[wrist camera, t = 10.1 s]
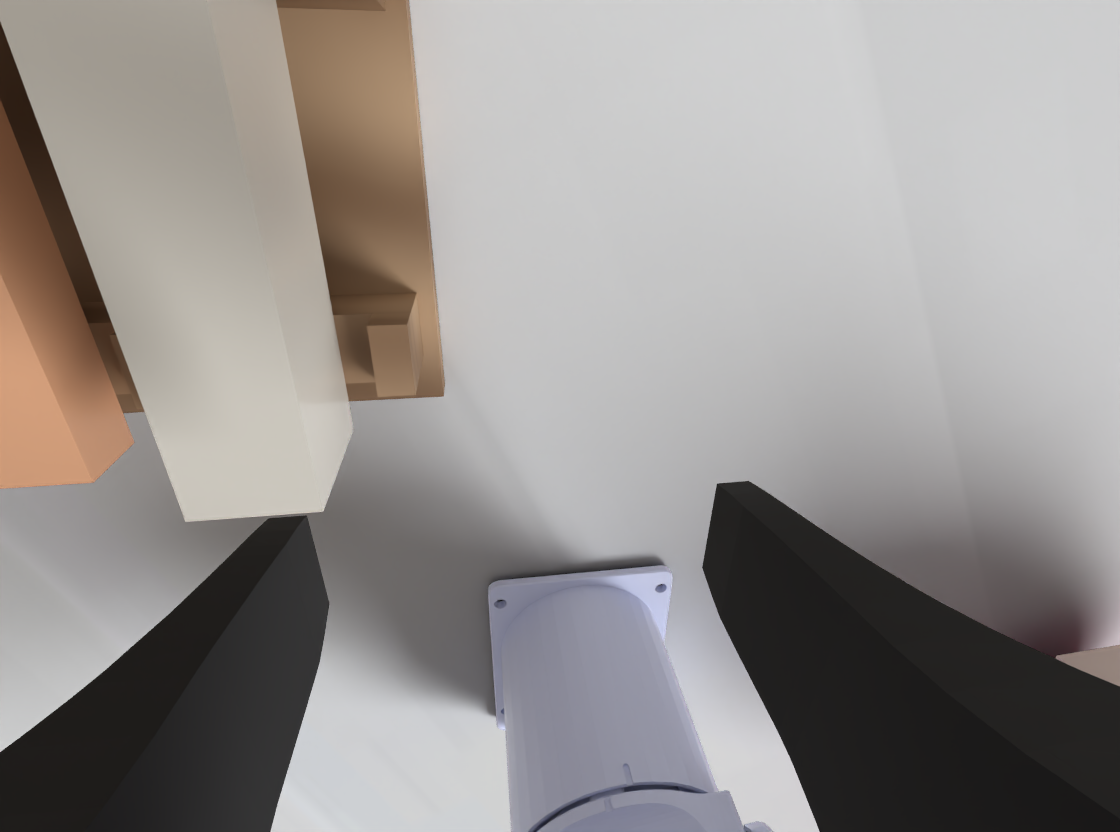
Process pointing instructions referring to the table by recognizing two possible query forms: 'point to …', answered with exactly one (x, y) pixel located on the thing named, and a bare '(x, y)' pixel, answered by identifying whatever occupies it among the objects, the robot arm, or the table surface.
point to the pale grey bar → (197, 236)
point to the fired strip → (46, 351)
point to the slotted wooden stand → (317, 195)
